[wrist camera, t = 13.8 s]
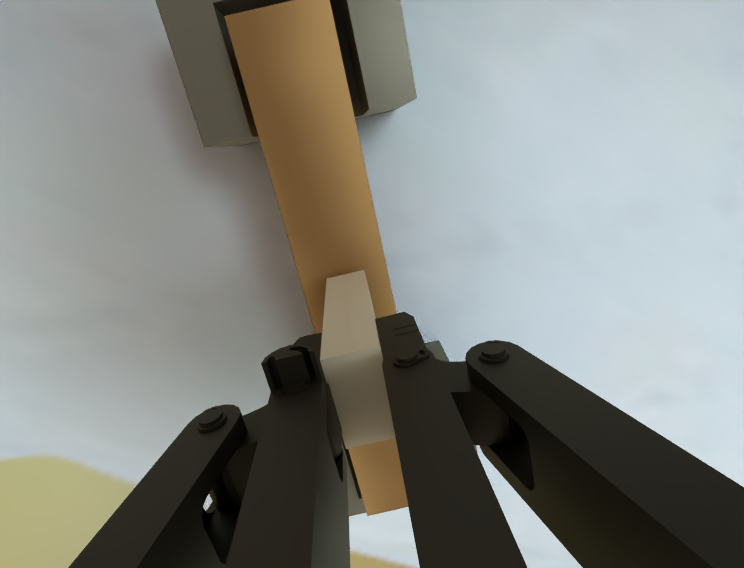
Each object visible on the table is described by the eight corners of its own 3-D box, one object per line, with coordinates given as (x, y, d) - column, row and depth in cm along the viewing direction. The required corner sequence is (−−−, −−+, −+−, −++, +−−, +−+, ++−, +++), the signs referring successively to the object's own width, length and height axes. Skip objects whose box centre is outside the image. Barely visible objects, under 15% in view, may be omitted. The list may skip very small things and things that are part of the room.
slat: (330, 34, 20) (327, -8, 14) (415, 424, 27) (436, 500, 21) (256, 51, 20) (224, 15, 14) (361, 436, 27) (367, 515, 21)
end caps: (373, -11, 21) (387, -73, 15) (452, 412, 29) (482, 485, 23) (204, 28, 21) (149, -18, 15) (330, 441, 29) (328, 521, 23)
